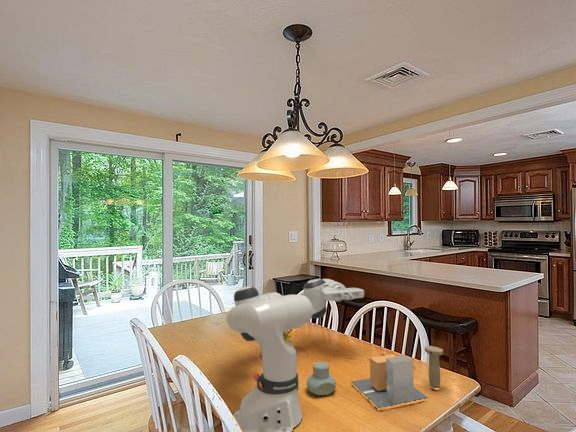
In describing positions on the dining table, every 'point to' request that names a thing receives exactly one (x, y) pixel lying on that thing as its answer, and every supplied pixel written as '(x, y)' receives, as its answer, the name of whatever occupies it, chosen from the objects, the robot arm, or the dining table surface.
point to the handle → (434, 365)
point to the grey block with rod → (399, 379)
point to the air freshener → (321, 380)
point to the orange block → (379, 372)
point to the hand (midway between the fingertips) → (350, 297)
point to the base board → (380, 393)
